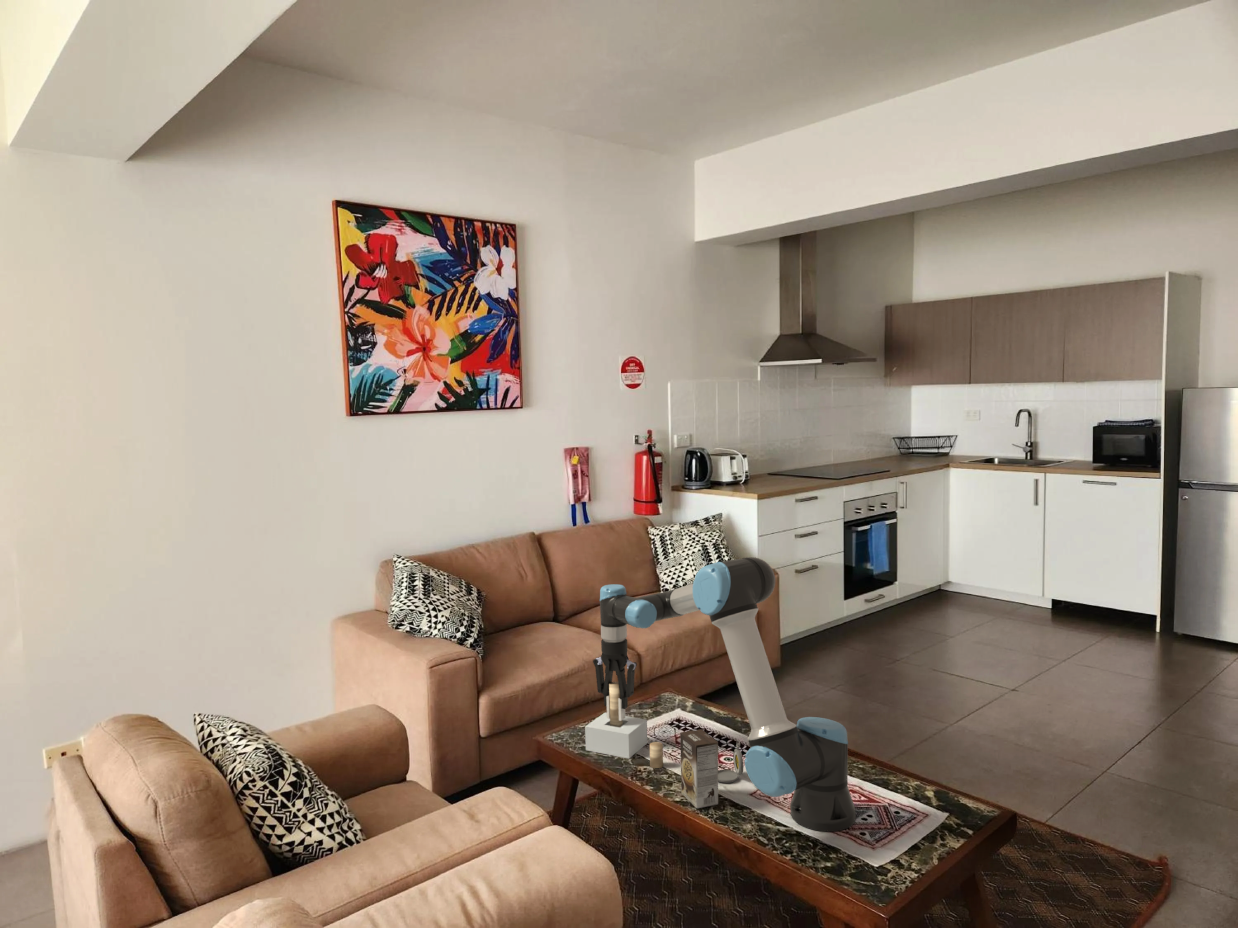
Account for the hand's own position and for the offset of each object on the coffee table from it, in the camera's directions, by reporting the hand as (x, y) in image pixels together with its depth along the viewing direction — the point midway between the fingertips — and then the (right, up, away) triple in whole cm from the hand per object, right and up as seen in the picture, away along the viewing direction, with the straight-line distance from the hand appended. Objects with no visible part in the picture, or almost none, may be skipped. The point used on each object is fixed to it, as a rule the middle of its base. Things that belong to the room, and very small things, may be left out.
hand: (616, 717), depth 245 cm
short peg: (+11, -9, -13) cm, 19 cm away
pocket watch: (+30, -10, -22) cm, 38 cm away
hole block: (0, -8, +1) cm, 9 cm away
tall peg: (0, -4, 0) cm, 4 cm away
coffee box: (+21, -11, -33) cm, 40 cm away
